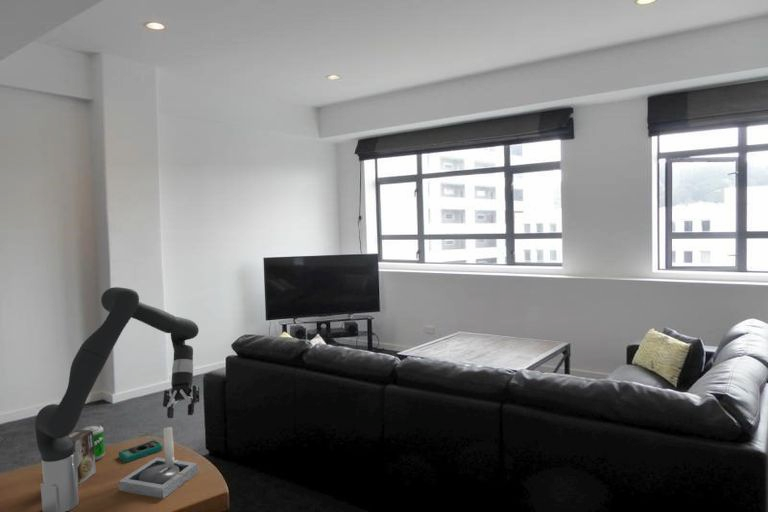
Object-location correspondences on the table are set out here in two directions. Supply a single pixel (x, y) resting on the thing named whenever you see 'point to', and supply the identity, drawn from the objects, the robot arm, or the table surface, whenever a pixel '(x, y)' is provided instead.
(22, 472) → the table surface
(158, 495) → the grey square frame
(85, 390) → the robot arm
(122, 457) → the digital multimeter
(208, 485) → the table surface
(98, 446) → the soda can
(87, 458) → the coffee box
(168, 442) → the lever
